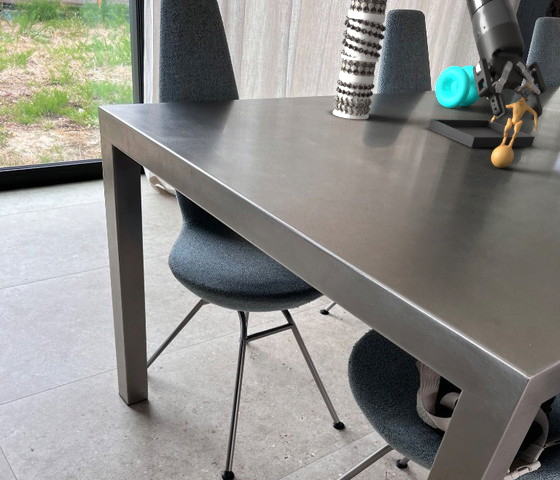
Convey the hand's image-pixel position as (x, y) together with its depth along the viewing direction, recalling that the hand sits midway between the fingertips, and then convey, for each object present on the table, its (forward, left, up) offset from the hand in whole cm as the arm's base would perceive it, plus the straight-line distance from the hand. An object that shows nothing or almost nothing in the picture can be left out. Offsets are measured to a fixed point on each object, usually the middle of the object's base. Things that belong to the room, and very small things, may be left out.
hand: (519, 117), depth 102 cm
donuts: (-30, -52, -9) cm, 61 cm away
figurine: (0, -1, -9) cm, 9 cm away
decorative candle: (+10, -41, -9) cm, 43 cm away
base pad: (-12, -21, -9) cm, 26 cm away
